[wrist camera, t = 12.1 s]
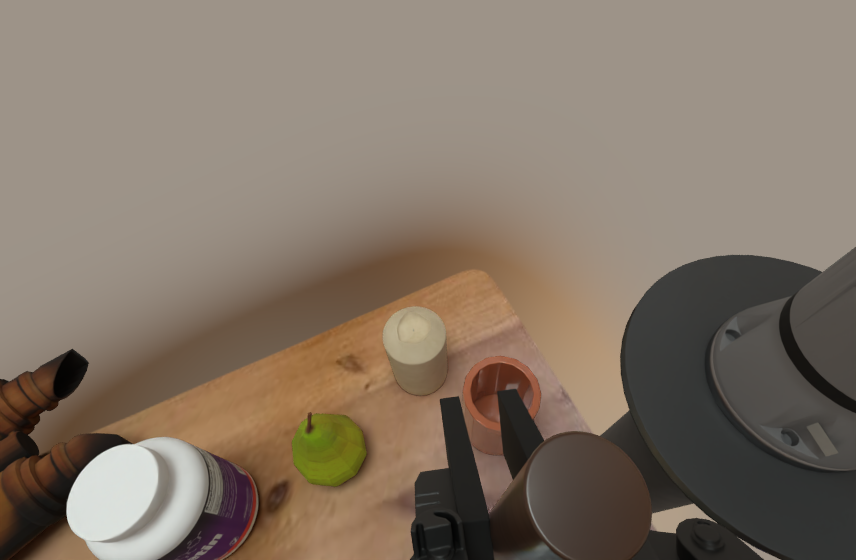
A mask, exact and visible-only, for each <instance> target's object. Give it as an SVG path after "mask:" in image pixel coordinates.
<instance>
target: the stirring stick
mask: <svg viewBox="0 0 856 560" xmlns="http://www.w3.org/2000/svg"><path fill="white" fill-rule="evenodd" d="M489 518H490V537H491V541H492V544H493V553H494V560H631V559H632V558H633V557H634V556H635V555H637V553H638V552H639V551H640V550H641V548H642V547H643V545H644V543H645V541H646V539H647V537H648V534H649V531H650V526H651V518H652V508H651V500H650V495H649V492H648V488H647V485H646V483H645V481H644V478H643V476H642V475H641V473H640V471H639V469H638V468H637V466H636V465H635V464H634V462H633V461H632V460H631V459H630V458H629V456H628V455H627V454H626V453H625V452H624V451H622V450H621V449H620V448H619V447H618V446H616V445H615V444H613V443H612V442H610V441H608V440H607V439H605V438H603V437H600V436H598V435H595V434H592V433H587V432H580V431H571V432H564V433H560V434H557V435H554V436H552V437H550V438H548V439H547V440H545V441H544V442H543V443H541V444H540V445H539V446H538V447H537V448H536V449H535V451H534V452H533V453H532V455H531V456H530V458H529V459H528V460H527V462H526V463H525V465H524V466H523V467H522V469H521V470H520V472H519V473H518V474H517V476H516V477H515V478H514V480H513V481H512V483H511V484H510V485H509V487H508V488H507V490H506V491H505V492H504V494H503V495H502V497H501V498H500V499H499V501H498V502H497V503H496V505H495V506H494V508H493V509H492V510H491V512H490V513H489Z"/></svg>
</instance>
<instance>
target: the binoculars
mask: <svg viewBox="0 0 856 560" xmlns="http://www.w3.org/2000/svg"><path fill="white" fill-rule="evenodd" d="M88 364H89V363H88V361H87V360H86V359H85V358H84V357H82V356H81V355H80V354H78V353H77V352H76V351H75V350H73V349H71V350H69V351H67V352H66V353H64V354H62V355H60V356H59V357H57V358H55V359H53V360H51V361H49V362H47V363H46V364H44V365H42V366H40V367H39V368H38V369H37V370H35V371H34V372H28V371H26V372H24V373H22V374H21V375H19V376H18V377H17V378H15V379H14V380H12V381H10V382H9V381H6V380H4V379H0V560H9V559H10V558H11V557H13V556H14V555H15V554H16V553H17V552H19V551H20V550H21V549H22V548H23V547H24V546H26V545H27V544H28V543H29V542H30V541H32V540H33V539H34V538H35V537H36V536H38V535H39V534H40V533H41V532H42V531H43V530H45V529H46V528H47V527H48V526H49V525H52V524H54V523H56V522H57V521H59V520H60V519H62V518H63V517H64V516H65V515H66V514H67V513H66V512H67V501H68V497H69V494H70V491H71V489H72V486H73V484H74V482H75V481H76V479H77V477H78V476H79V474H80V473H81V472H82V470H83V469H84V468H85V467H86V466H87V465H88V464H89V463H90V462H91V461H92V460H93V459H95V458H96V457H97V456H98V455H100V454H101V453H103V452H105V451H106V450H108V449H111V448H113V447H116V446H119V445H124V444H132V443H131V442H129V441H127V440H126V439H124V438H122V437H120V436H119V435H115V434H99V433H94V434H80V435H77V436H75V437H73V438H72V439H71V440H70V441H69V442H68V443H63V442H62V443H58V444H56V445H55V446H53V447H52V449H51V453H50V454H48V455H47V456H45V457H42V456H38V455H39V450H38V447H37V445H36V443H35V442H34V441H33V440H32V439H31V438H30V437H29V436H28V434H30V433H31V432H32V431H33V430H34V426H35V425H36V424H38V422H39V421H40V416H39V414H41V413H42V412H43V411H45V410H47V411H51V410H53V409H55V408H56V407H57V406H58V402H59V401H60V400H62V399H64V398H66V397H68V396H69V395H70V394H72V393H73V392H74V390H75V389H76V388H77V387H78V386H79V384H80V382H81V381H82V379H83V377H84V375H85V373H86V371H87V367H88Z"/></svg>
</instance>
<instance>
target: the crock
mask: <svg viewBox="0 0 856 560" xmlns="http://www.w3.org/2000/svg"><path fill="white" fill-rule="evenodd" d="M509 389H516V390H517V391H518V393H519V395H520V397H521V399H522V401H523V402H524V404H525V406H526V408H527V410H528V412H529V413H530V415H531V417H532V419H534V418H535V416H536V414H537V412H538V410H539V407H540V400H541V391H540V388H539V384H538V380H537V378H536V377H535V376H534V374H533V373H532V372H531V370H530V369H529V368H528V367H527V366H526V365H524V364H522V363H521V362H519V361H518V360H516V359H513V358H508V357H504V356H496V357H489V358H485V359H484V360H482V361H480V362H479V363H477V364H475V365H474V366H473V367H472V369H471V370H470V372H469V373H468V374H467V376H466V378H465V382H464V387H463V400H462V411H463V415H464V419H465V423H466V427H467V431H468V435H469V439H470V443H471V444H472V445H473V446H474V447H475V448H476V449H478V450H479V451H481V452H483V453H486V454H490V455H502V454H503V447H502V437H501V426H500V416H499V406H498V395H497V391H502V390H509Z"/></svg>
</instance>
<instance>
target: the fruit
mask: <svg viewBox="0 0 856 560" xmlns="http://www.w3.org/2000/svg"><path fill="white" fill-rule="evenodd" d="M292 449H293V461H294V465H295V466H296V468H297V469H298V470H299V471H300V472H301V473H302V475H303V476H304V477H305V478H306V479H307V481H308V482H309V483H311V484H315V485H324V486H334V487H336V486H339V485H340V484H342V483H343V482H345V481H347V480H348V479H350V478H351V477H353V476H354V475H356V474H357V472H358V470H359V468H360V466H361V464H362V462H363V460H364V459H365V457H366V454H367V453H366V447H365V442H364V436H363V432H362V430H361V429H360V428H359V427H358V426H357V425H356V424H355V423H354V422H353V421H352V420H351V419H350V418H349V417H347V416H346V415H334V414H317V413H316V414H314V415H312V413H311V412H310V413H308V418H307V419H305V420H304V421H303V422H301V424H300V426H299V428H298V430H297V432H296V434H295V436H294V438H293V440H292Z"/></svg>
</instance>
